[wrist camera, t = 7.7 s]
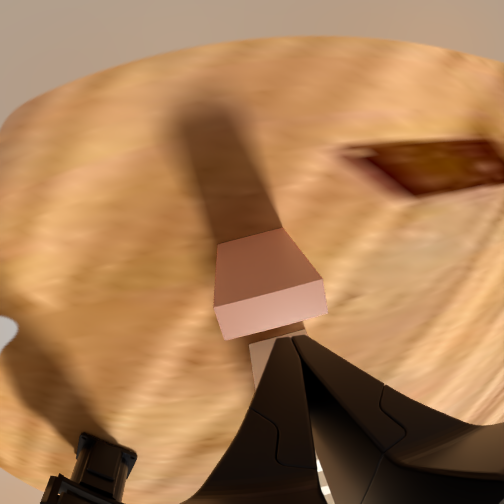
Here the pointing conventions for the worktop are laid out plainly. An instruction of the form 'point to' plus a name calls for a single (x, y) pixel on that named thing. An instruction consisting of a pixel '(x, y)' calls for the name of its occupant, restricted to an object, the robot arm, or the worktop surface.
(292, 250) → the pink rectangular block
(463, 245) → the worktop surface
